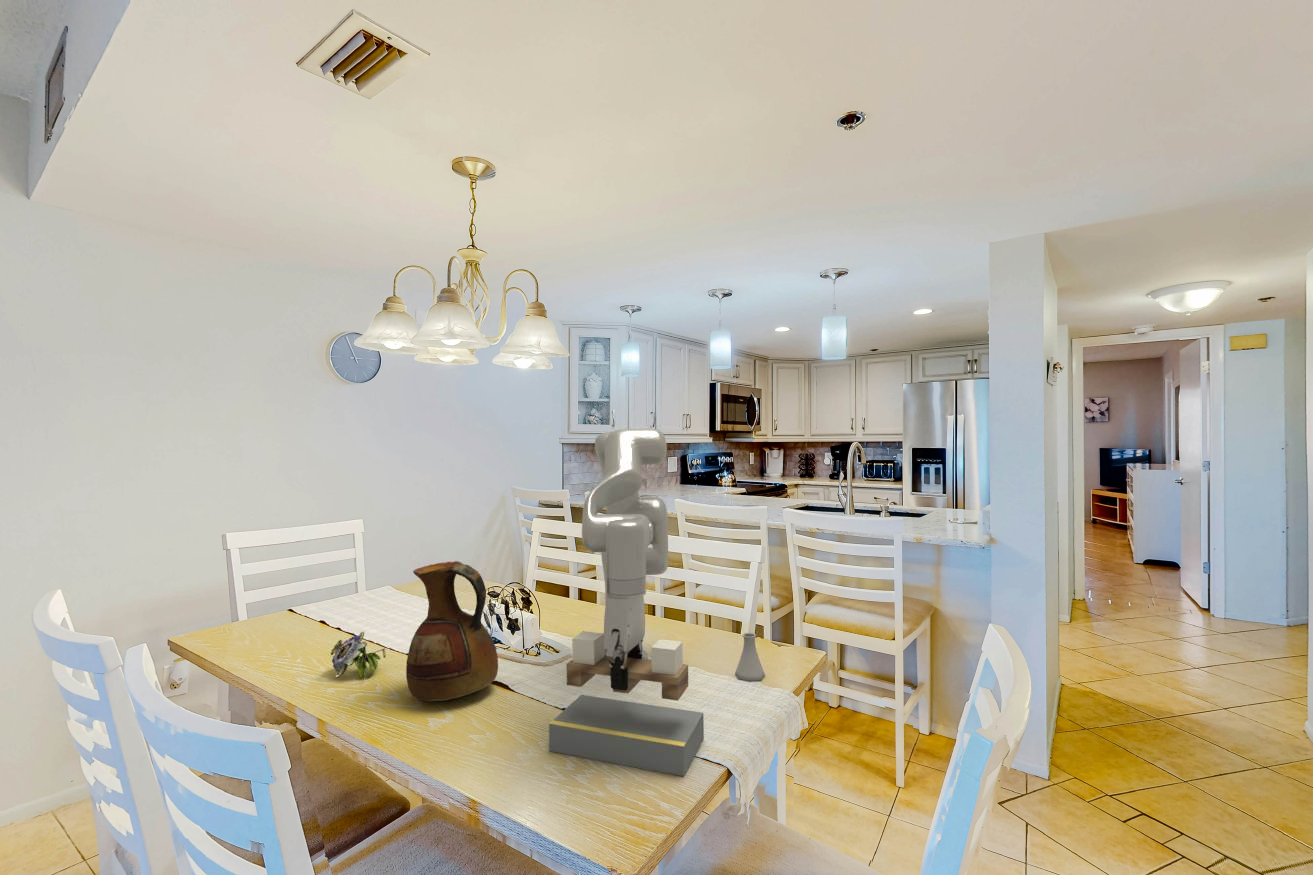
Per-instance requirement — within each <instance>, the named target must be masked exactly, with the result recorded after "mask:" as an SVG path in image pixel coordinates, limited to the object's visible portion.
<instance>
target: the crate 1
mask: <svg viewBox="0 0 1313 875" xmlns="http://www.w3.org/2000/svg"><path fill="white" fill-rule="evenodd" d="M571 640H572V643H571V645H572V659H573V662H574V663H582V664H590V665H595V664H596V663H597V662H598V661H600V660H601V659H602V658H603V657H604V632H602V633H601V632H592V631H582V632H580V633H579V634H577V635H576V636H574V637H572V639H571Z"/></svg>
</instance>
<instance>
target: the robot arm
mask: <svg viewBox="0 0 1313 875" xmlns="http://www.w3.org/2000/svg"><path fill="white" fill-rule="evenodd" d="M667 447H668V446H667V440H666V437H665V435H664V433H663V432H662V431H661V430H659V429H656V428H624V429H623V428H621V429H617V430H613V431H607V432H603V433H600V434H599V435H597V436H596V437H595V440H594V450H595V454H596V457H597V461H598V463H599V466H600V468H601V470H602V472H603V473H602V474H603V476H604V478H603V479H601V481H600V480H599V482H598V483H597V484H596V485H595V486H594V487H593V488H592V489H591V490H590V492H589V493H588V495H587V496H586V498H585V500H584V504H583V506H582V507H583V508H582V519H581V520H582V521H581V539H582V540H581V541H582V543H583V546H584V548H585V549H586V550H587V551H589V552H591V553H601V554H600V555H601V565H602V570H603V576H604V577H603V578H604V593H605V595H604V596H605V597H604V598H605V604H604V605H605V606H604V607H605V609H604V619H603V633H604V655H606V656H607V658H608V660H609V663H610V668H611V676H610V688H611V689H612V690H613V689H617V690H624V691H626V690H627V689H628V668H627V667H626V661H627V658H636V659H645V660H649V654H648V652H647V651H646V650H644V648H643V642H644V638H645V636H646V635H645V634H646V610H645V595H646V594H647V579H646V578H647V577H646V576H657V575H659V576H660V575H663V574H664V573H665V572H667V570H668V567H669V532H668V530H669V529H668V526H669V525H668V523H669V522H668V511H667V506H666V503H665V501H664V500H663V499H662V498H660V497H658V496H640V495H639V494H640V493H639V491H640V489H641V488H642V486H643V481H644V480H643V467H642V465H662V464H663V463H664V462H665V461H666V457H667V453H668V452H667V451H668V450H667ZM605 508H606V514H599V512H601V511H602V510H603V509H605ZM618 656H620V657H622V660H621V659H620V657H618Z"/></svg>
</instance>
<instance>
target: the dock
mask: <svg viewBox="0 0 1313 875" xmlns="http://www.w3.org/2000/svg"><path fill="white" fill-rule="evenodd" d="M704 720H705V719H704V712H703V711H702V712H701V711H693V710H687V709H681V708H675V707H674V708H673V707H668V706H667V707H666V706H659V705H653V704H646V703H641V702H635V701H627V700H619V699H614V698H607V697H599V696H593V695H588V694H587V695H585V694H580V695H579V696H578V697H577V698H576V699H575V700H574V701H572V703H570V704H569V705H568V706H567V707H566V708H565V709H564V710H563V711H561V712H560V713H559V714H558V715H557V716H556V717H554V719H552V720H551V721H550V722H549V723H548V735H549V736H548V738H549V739H548V746H549V747H548V748H549V749H548V750H549V752H553V753H558V754H564V755H569V756H575V757H580V758H585V759H590V760H594V761H595V760H596V761H600V762H606V763H612V764H616V765H623V766H627V767H632V768H639V769H641V770H642V769H643V770H648V771H654V772H658V773H664V774H670V775H675V776H678V777H679V776H680V777H685V776H686V774H687V772H688V770H689V768H690V766H691V764H692V762H693V761H694V759H695V757H696V755H697V753H698V751H699V749H700V748H701V745H702V743H703V742H704V738H705V735H704V733H705V732H704V727H705V726H704V725H705V724H704V722H705V721H704Z"/></svg>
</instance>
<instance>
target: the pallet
mask: <svg viewBox="0 0 1313 875" xmlns="http://www.w3.org/2000/svg"><path fill="white" fill-rule="evenodd" d="M618 657H620V656H618ZM620 659H621V660H622V657H620ZM626 667H627V668H628V689H627V690H626V691H624V690H617V689H612V692H614V693H621V694H626V695H627V694H629V693H630V692H631V691H632V690H633V689H634V688H635V687H636V686H637V685H638V684H639V683H640V682H641V681H644V682H645V681H646V682H652V683H653V682H655V683H661V699H662V700H663V699H664V700H669V701H677V702H678V701H680V698H682V696H683V695H684V693H685V692H686V690H687V689H688V687H689V664H686V663H685V664H684V663H683V666H682V668H681V669H680V670H679V671H678V673H677V674H676V675H669V674H661V673H653V672H652V660H651V659H648V660H645V659H636V658H627V661H626ZM596 675H600V676H601V675H602V676H607V677H608V676H609V677H611V668H610V663H609V660H608V658H607V656H606V655H604V657H603V658H602V659H601V660H600V661H598V662H597V663H596V664H595V665H590V664H582V663H574V662H573V658H571V660H569V661H568V662H567V663H566V686H571V687H579V688H582V687H583V686H584V685H585V684H586V683H587V682H589V681H590V680H591V679H592V678H594V677H595V676H596Z"/></svg>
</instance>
